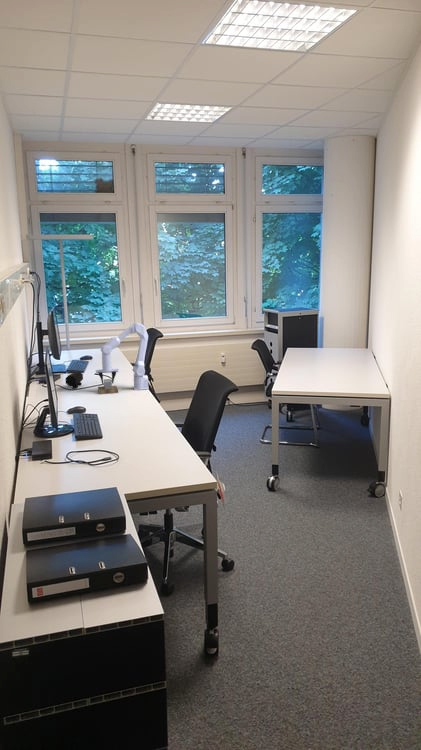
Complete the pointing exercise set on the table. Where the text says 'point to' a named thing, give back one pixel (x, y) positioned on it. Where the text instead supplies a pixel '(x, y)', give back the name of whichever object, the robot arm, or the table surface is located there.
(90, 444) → the table surface
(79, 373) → the security camera
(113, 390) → the stand
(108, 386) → the housing
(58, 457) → the table surface
